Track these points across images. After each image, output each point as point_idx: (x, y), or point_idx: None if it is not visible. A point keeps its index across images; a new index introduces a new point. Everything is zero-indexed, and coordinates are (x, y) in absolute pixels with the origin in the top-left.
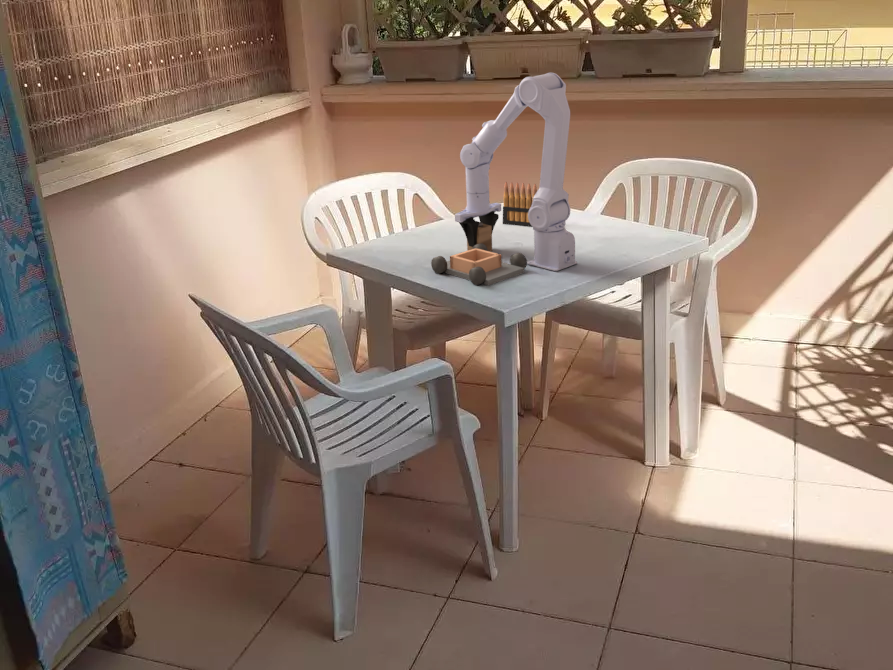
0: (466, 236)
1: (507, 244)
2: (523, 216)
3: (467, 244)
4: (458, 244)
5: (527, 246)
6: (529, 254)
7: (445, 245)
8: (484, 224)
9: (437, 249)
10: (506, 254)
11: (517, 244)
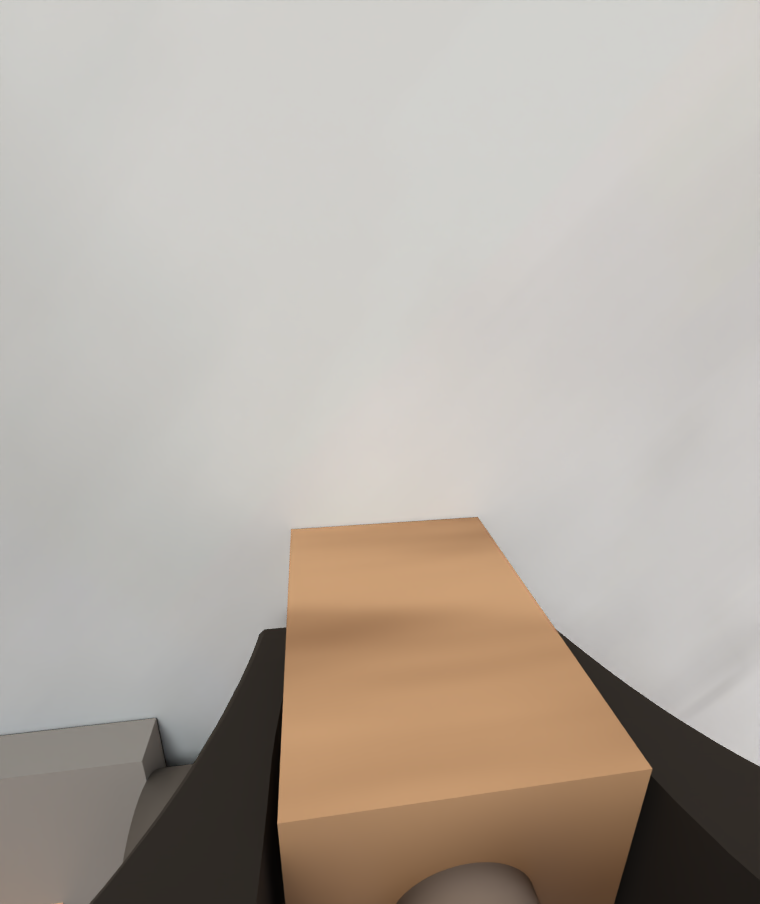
0: (220, 727)
1: (680, 617)
2: None
3: (290, 578)
4: (421, 228)
5: None
6: None
7: (267, 96)
8: (605, 882)
9: (43, 160)
10: None
11: (712, 666)
